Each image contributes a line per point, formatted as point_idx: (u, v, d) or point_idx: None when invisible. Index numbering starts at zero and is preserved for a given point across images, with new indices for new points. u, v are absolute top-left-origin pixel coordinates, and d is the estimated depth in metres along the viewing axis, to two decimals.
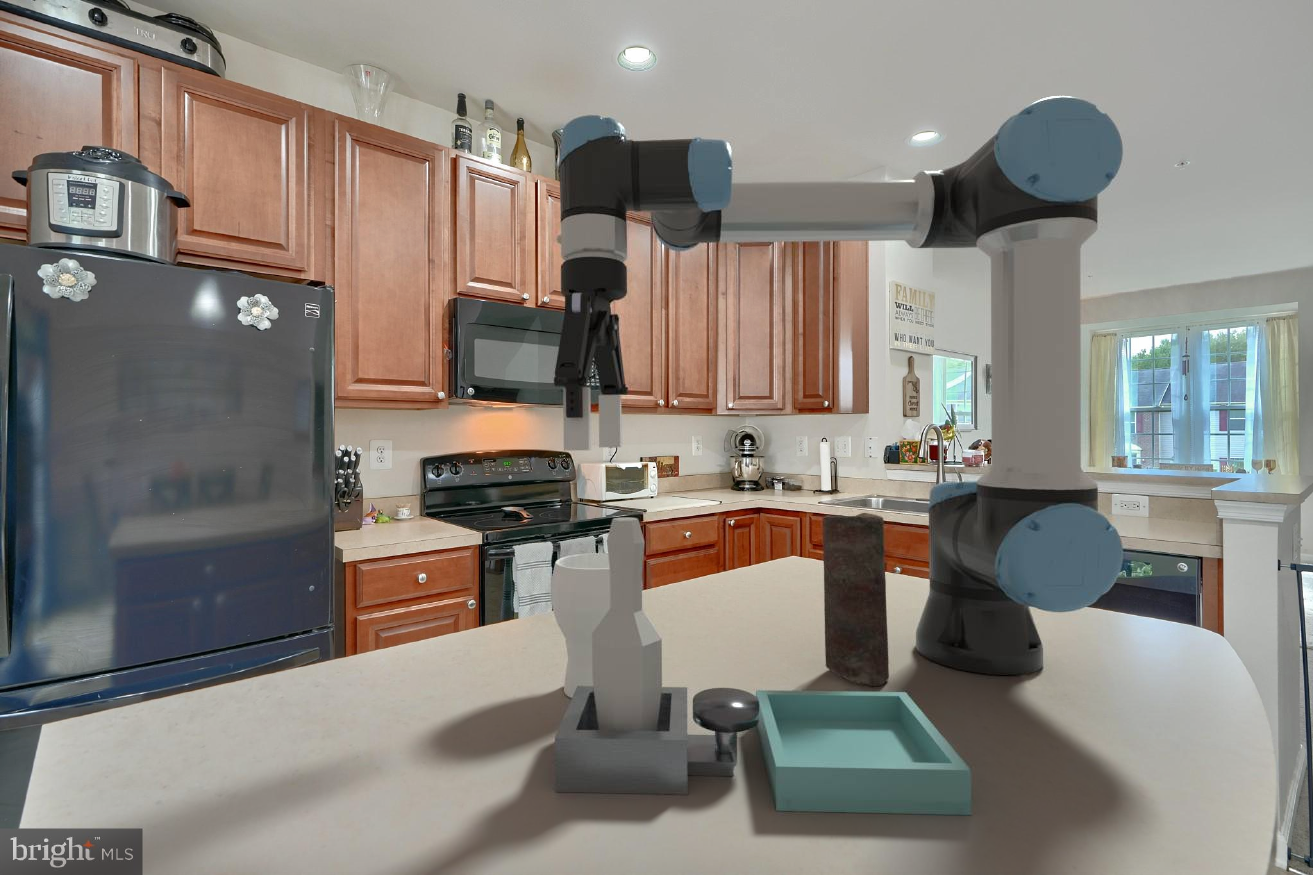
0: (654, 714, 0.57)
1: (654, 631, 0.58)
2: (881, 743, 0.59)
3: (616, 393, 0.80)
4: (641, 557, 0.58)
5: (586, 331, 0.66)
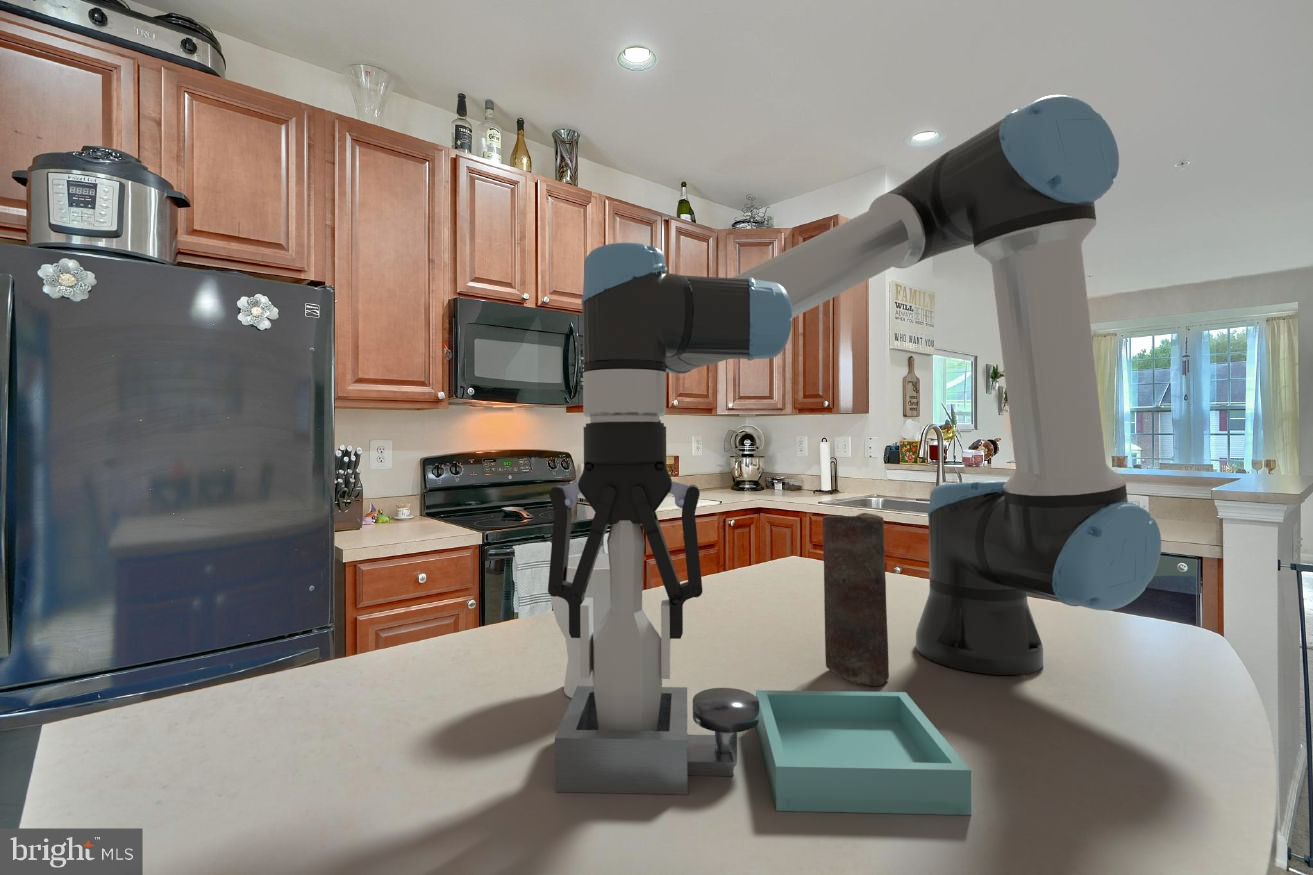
0: (654, 714, 0.57)
1: (654, 631, 0.58)
2: (881, 743, 0.59)
3: (669, 599, 0.58)
4: (641, 557, 0.58)
5: (560, 535, 0.58)
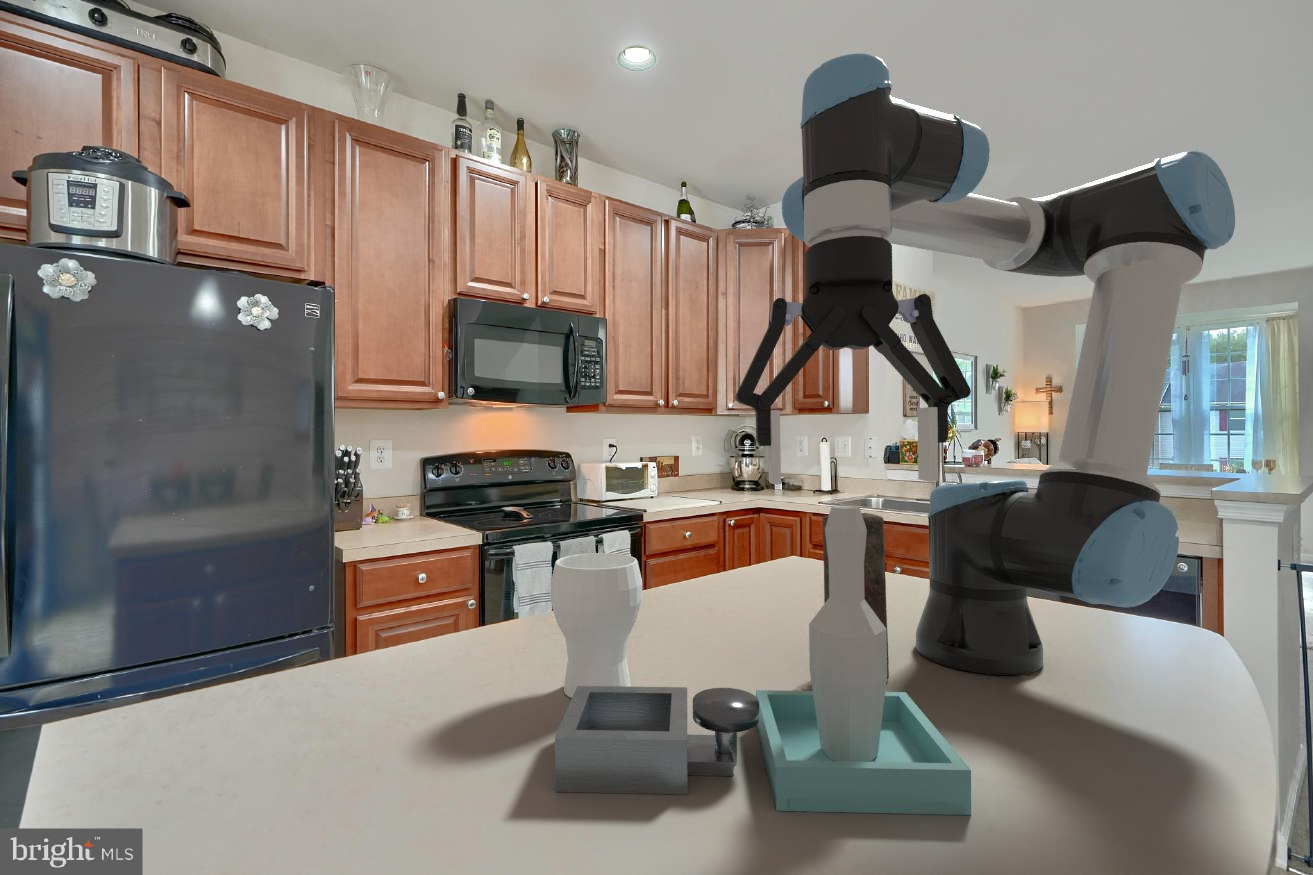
0: (881, 705, 0.56)
1: (879, 621, 0.57)
2: (881, 743, 0.59)
3: (935, 404, 0.57)
4: (864, 545, 0.57)
5: (769, 345, 0.57)
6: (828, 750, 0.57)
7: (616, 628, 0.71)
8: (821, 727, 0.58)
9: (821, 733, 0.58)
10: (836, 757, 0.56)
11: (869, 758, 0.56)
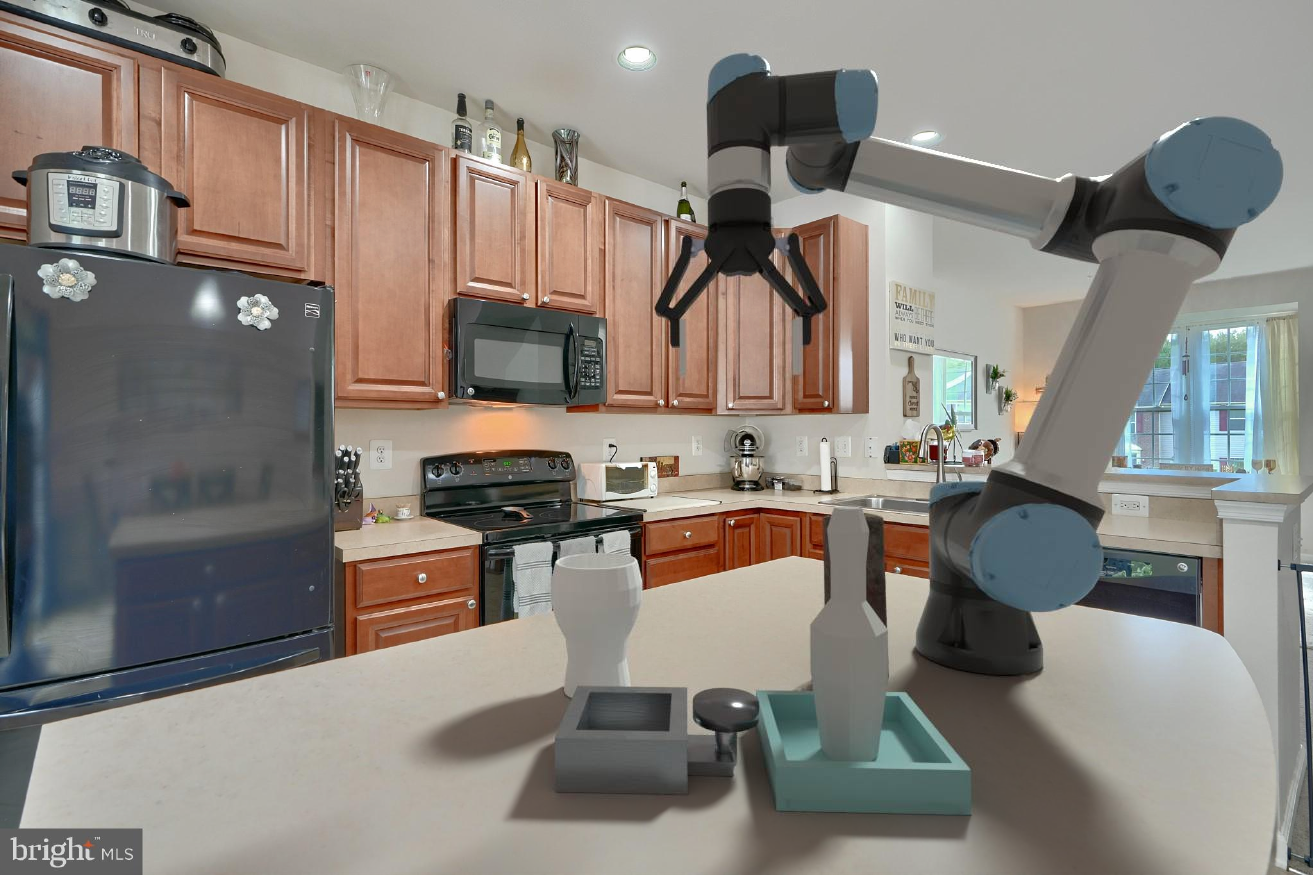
0: (881, 706, 0.56)
1: (880, 622, 0.57)
2: (881, 743, 0.59)
3: (802, 316, 0.76)
4: (866, 546, 0.57)
5: (678, 270, 0.76)
6: (828, 750, 0.57)
7: (616, 628, 0.71)
8: (821, 727, 0.58)
9: (821, 734, 0.58)
10: (836, 758, 0.56)
11: (869, 759, 0.56)
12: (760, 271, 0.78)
